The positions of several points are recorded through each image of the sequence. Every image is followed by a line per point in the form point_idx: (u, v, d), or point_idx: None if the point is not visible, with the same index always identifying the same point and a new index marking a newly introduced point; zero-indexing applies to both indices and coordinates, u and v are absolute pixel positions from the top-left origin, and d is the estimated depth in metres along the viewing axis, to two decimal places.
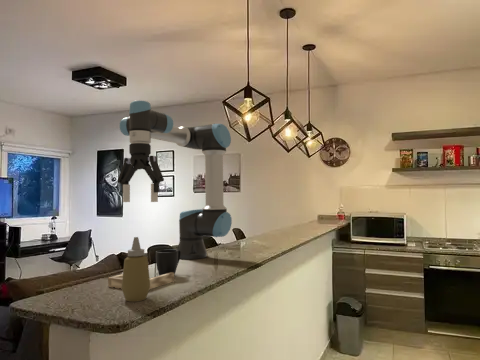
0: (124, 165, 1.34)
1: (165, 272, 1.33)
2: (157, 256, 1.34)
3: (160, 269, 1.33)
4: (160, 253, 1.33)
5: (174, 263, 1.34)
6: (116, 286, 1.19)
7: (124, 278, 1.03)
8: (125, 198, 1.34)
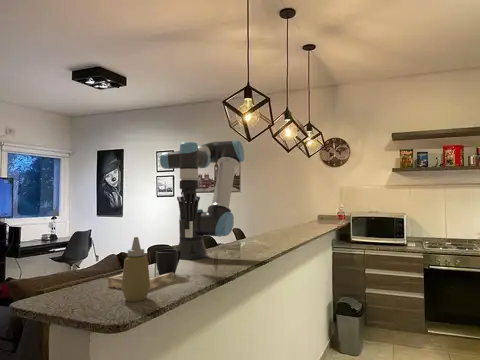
0: None
1: (165, 272, 1.33)
2: (157, 256, 1.34)
3: (160, 269, 1.33)
4: (160, 253, 1.33)
5: (174, 263, 1.34)
6: (116, 286, 1.19)
7: (124, 278, 1.03)
8: None
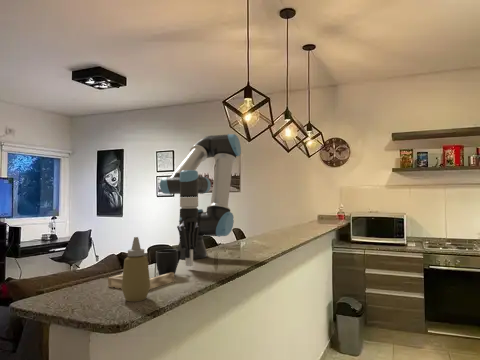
0: None
1: (165, 272, 1.33)
2: (157, 256, 1.34)
3: (160, 269, 1.33)
4: (160, 253, 1.33)
5: (174, 263, 1.34)
6: (116, 286, 1.19)
7: (124, 278, 1.03)
8: None
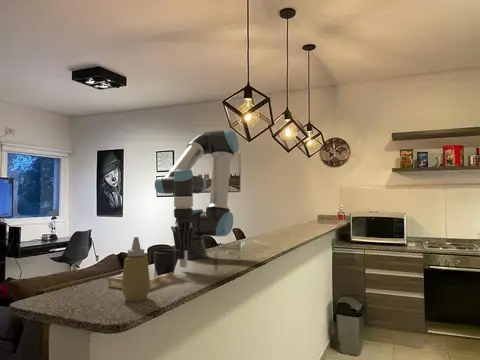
0: None
1: (163, 273, 1.32)
2: (155, 256, 1.33)
3: (158, 270, 1.32)
4: (158, 253, 1.32)
5: (172, 263, 1.33)
6: (116, 286, 1.19)
7: (124, 278, 1.03)
8: None
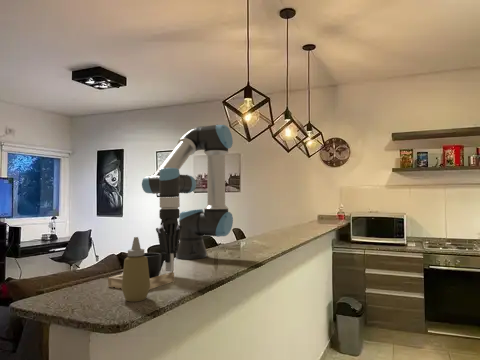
0: None
1: None
2: None
3: None
4: None
5: (156, 268, 1.25)
6: (116, 286, 1.19)
7: (124, 278, 1.03)
8: None
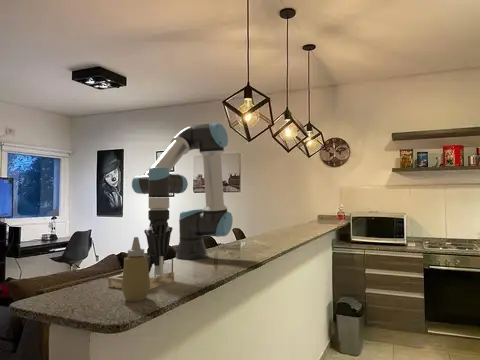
0: None
1: None
2: None
3: None
4: None
5: None
6: (116, 286, 1.19)
7: (124, 278, 1.03)
8: None
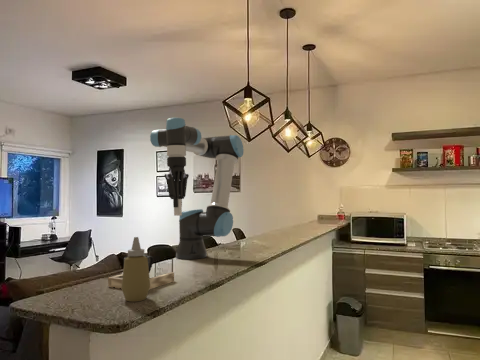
0: None
1: None
2: None
3: None
4: None
5: None
6: (116, 286, 1.19)
7: (124, 278, 1.03)
8: None
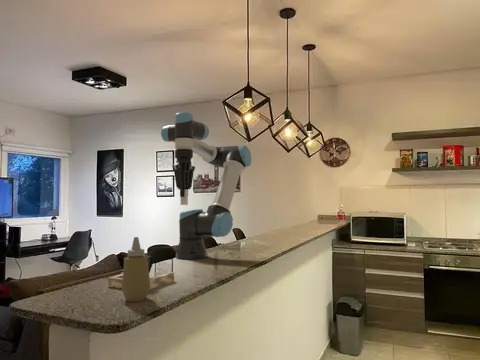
0: None
1: None
2: None
3: None
4: None
5: None
6: (116, 286, 1.19)
7: (124, 278, 1.03)
8: None
